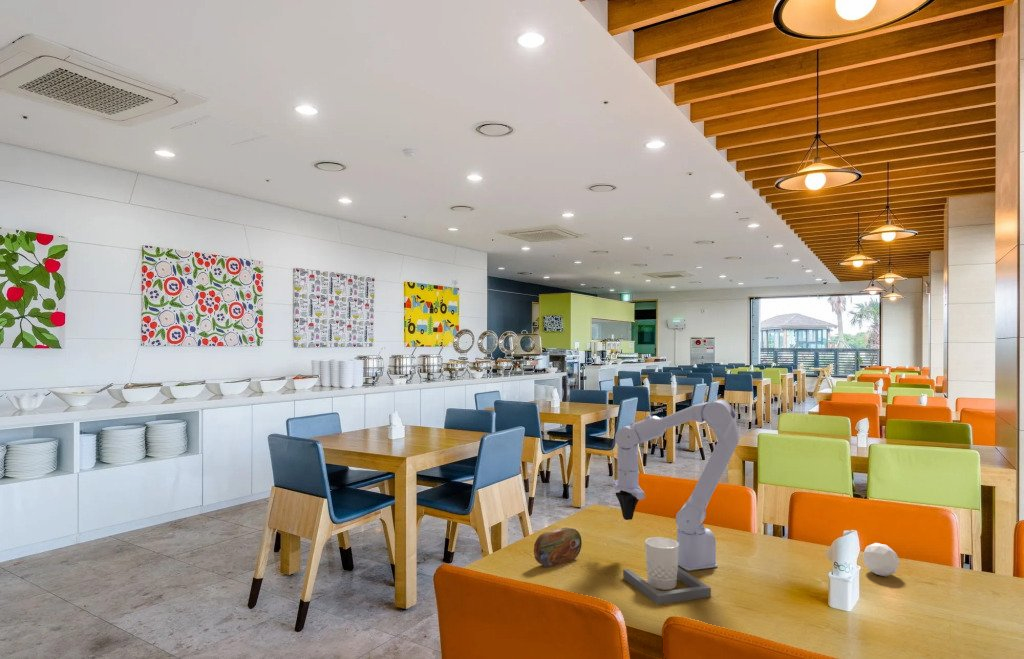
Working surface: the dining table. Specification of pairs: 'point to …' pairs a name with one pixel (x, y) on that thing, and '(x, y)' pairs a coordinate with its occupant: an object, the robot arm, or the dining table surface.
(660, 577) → the white cup
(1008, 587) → the dining table surface
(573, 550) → the tin
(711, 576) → the dining table surface
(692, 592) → the gray u-shaped frame
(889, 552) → the geometric ball
